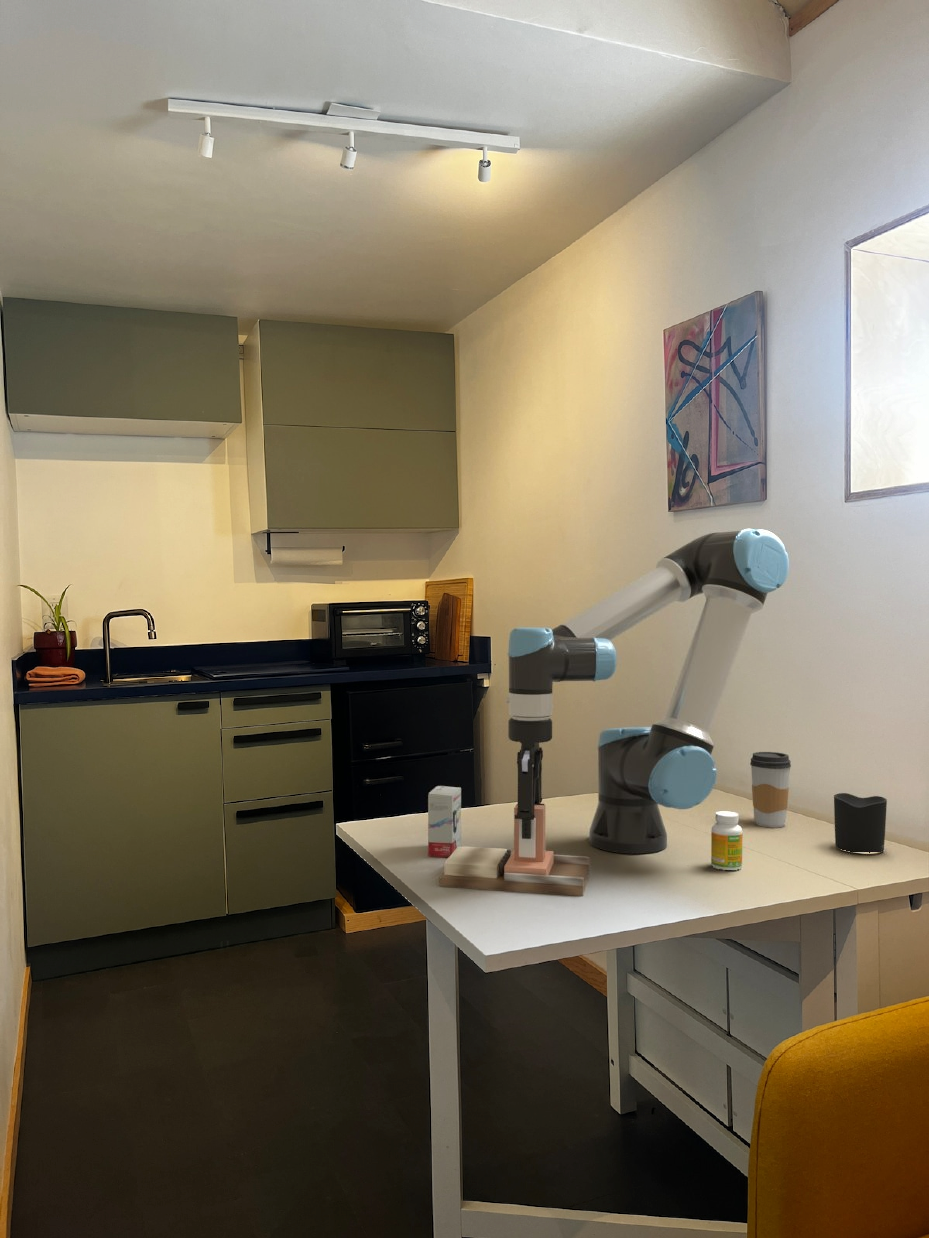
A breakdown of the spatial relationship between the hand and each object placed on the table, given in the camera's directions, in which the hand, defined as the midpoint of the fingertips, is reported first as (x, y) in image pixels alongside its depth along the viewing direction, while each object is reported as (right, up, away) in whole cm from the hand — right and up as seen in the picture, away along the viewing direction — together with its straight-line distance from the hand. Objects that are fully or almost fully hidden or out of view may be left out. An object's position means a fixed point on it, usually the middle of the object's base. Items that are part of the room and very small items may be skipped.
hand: (529, 851), depth 160 cm
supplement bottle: (+36, -5, +8) cm, 37 cm away
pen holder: (+65, -5, +20) cm, 68 cm away
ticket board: (-2, -5, +1) cm, 5 cm away
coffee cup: (+54, -4, +39) cm, 67 cm away
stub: (0, -3, 0) cm, 3 cm away
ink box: (-15, -5, +18) cm, 24 cm away
